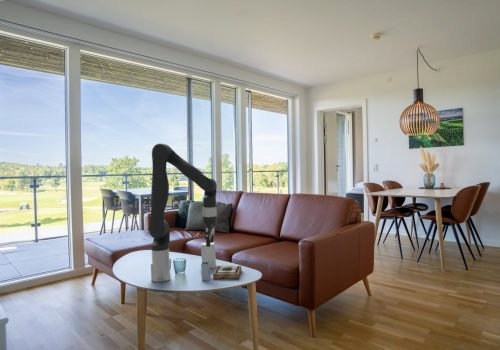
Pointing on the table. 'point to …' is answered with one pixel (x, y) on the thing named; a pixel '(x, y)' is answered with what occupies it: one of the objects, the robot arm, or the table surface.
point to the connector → (205, 270)
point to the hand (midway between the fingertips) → (210, 244)
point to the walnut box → (227, 272)
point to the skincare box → (209, 254)
